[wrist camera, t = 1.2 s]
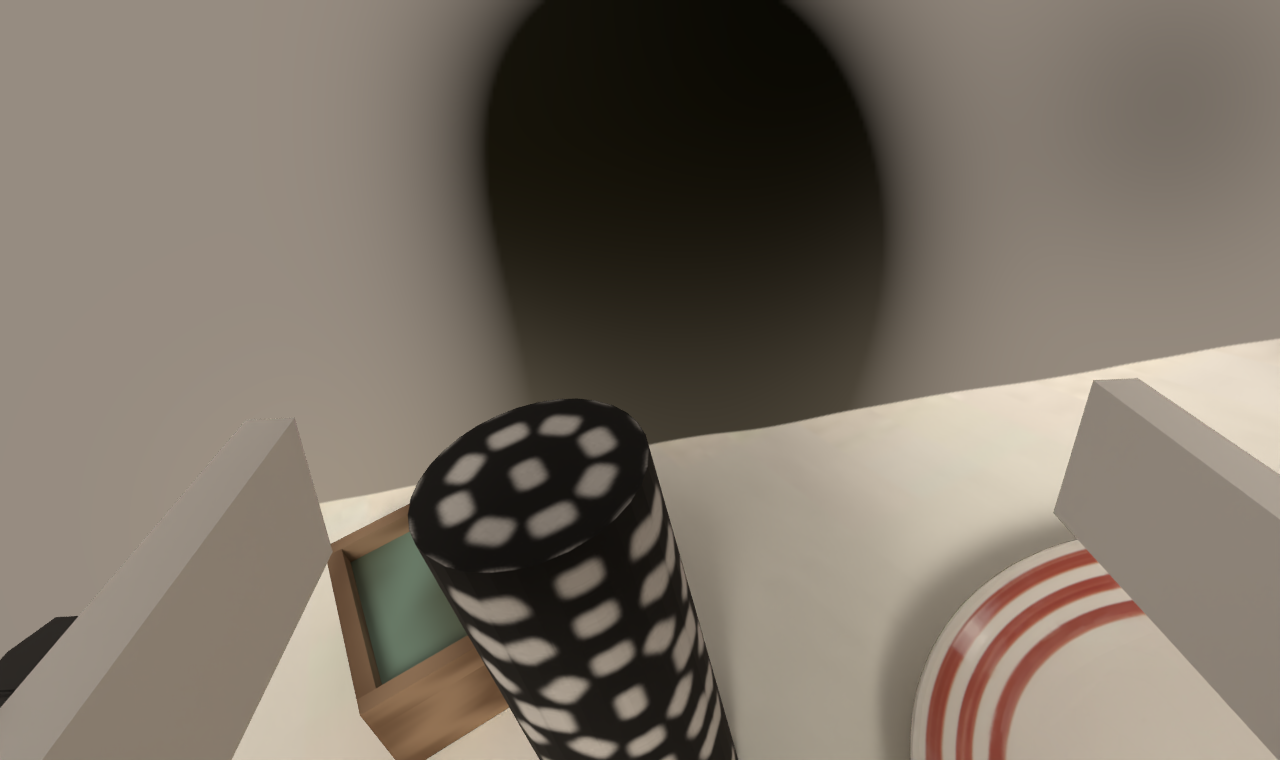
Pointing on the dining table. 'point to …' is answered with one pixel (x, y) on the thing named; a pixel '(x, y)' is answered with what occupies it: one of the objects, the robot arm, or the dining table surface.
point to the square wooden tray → (406, 644)
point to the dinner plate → (1066, 676)
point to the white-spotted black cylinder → (572, 583)
